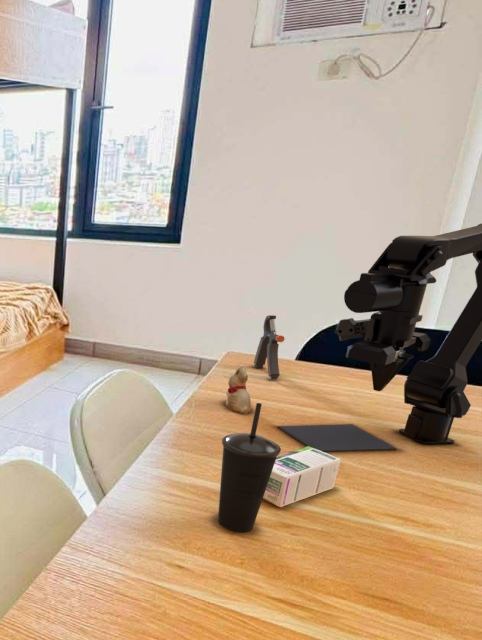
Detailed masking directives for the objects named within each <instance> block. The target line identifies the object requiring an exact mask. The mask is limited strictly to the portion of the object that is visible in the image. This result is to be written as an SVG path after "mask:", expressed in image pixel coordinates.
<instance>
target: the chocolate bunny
mask: <svg viewBox="0 0 482 640" xmlns="http://www.w3.org/2000/svg"><path fill="white" fill-rule="evenodd" d="M248 378H249V373H248V372H247V369H246V367H245V366H244V365H242V366H241V365H240V366H238V368H237V369H236V370H235V372H234V373H233V374H231V375H230V376H229V378H228V382H227V385H228V388H227V391H226V401H225V406H226V407H227V408H228V409H229V410H231V411H233V412H234V413H235V412H236V413H240V414H243V415H246V414H248V413H250V412H251V409H252V401H251V395H250V393H249V391H248V390H247V386H246V383H247V381H248Z"/></svg>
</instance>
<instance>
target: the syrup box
mask: <svg viewBox="0 0 482 640" xmlns="http://www.w3.org/2000/svg"><path fill="white" fill-rule="evenodd" d="M341 461H342V459H341V458H339V457H337V456H334V455H331V454H329V453H328V452H322V451H319V450H317V449H314V448H312V447H309V446H308V447H307V446H305V447H302V448H298V449H294V450H293V451H289V452H286V453H281V454H279V455H278V456H277V457H276V460H275V463H274V466H273V469H272V472H271V475H270V478H269V481H268V484H267V487H266V490H265V493H264V496H263V499H262V500H264V501H266V502H267V503H270V504H273V505H274V506H276V507H278V508H283V507H286V506H288V505H291V504H293V503H296V502H299V501H302V500H305V499H307V498H311V497H313V496H315V495H318V494H321V493H325V492H326V491H329V490H332V489H334V486H335V484H336V480H337V477H338V473H339V470H340V465H341V463H342V462H341Z"/></svg>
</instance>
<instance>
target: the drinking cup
mask: <svg viewBox="0 0 482 640" xmlns="http://www.w3.org/2000/svg"><path fill="white" fill-rule="evenodd" d="M262 405H263V403H261V402H257V403H256V404H255V409H254V412H253V413H254V414H253V417H252V418H253V419H252V424H251V428H250V433H249V432H240V433H231V434H227V435H225V436H223V437H222V439H221V444H222V446H223V448H222V460H221V472H220V473H221V474H220V487H219V500H218V513H217V514H218V515H217V521H218V525H220V526H221V527H222V528H224V529H226V530H228V531H231V532H234V533H250V532H251V531H252V530H253V528H254V526H255V523H256V520H257V517H258V514H259V511H260V508H261V505H262V502H263V500H264V499H263V496H264V493H265V490H266V487H267V484H268V481H269V478H270V475H271V472H272V469H273V466H274V463H275V460H276V457H277V456H279V455H281V450H282V449H281V447H280V445H279V444H278V443H277V442H275V441H273V440H271V439H268V438H267V437H265V436H262V435H259V434H257V429H258V425H259V420H260V416H261V410H262Z"/></svg>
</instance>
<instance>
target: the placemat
mask: <svg viewBox="0 0 482 640" xmlns="http://www.w3.org/2000/svg"><path fill="white" fill-rule="evenodd" d="M277 429H279V430H280V431H282V432H284V433H285V434H287V435H288V436H290V437H291V438H293V439H295V440H296V441H298V443H300V444H302V445H304V446H305V447H308V446H309V447H312V448H314V449H317V450H319V451H322V452H325V453H329V452H330V453H332V452H333V453H334V452H365V451H366V452H367V451H368V452H369V451H397V447H395V446H393V445H391V444H389V443H388V442H386V441H384V440H382V439H380V438H378V437H376V436H375V435H373V434H371V433H369V432H367V431H365V430H364V429H362V428H360V427H358V426H357V425H354V424H352V423H351V424H347V423H346V424H315V425H313V424H311V425H277Z"/></svg>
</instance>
